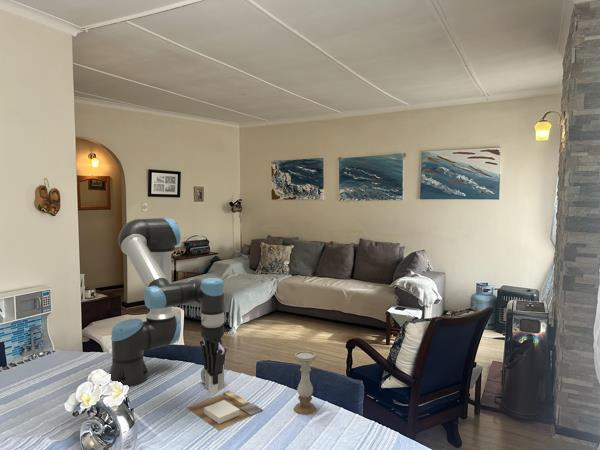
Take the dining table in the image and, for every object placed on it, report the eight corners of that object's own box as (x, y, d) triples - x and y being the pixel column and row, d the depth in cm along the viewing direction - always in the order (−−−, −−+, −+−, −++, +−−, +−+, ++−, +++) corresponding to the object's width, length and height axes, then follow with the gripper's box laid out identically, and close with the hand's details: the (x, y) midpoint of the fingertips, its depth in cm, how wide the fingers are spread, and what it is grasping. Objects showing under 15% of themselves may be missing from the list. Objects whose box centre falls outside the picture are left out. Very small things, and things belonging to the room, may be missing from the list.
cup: (217, 394, 159) (217, 371, 159) (195, 389, 164) (195, 366, 163) (228, 386, 166) (227, 364, 165) (206, 382, 170) (206, 360, 169)
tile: (204, 407, 143) (219, 417, 136) (224, 399, 148) (239, 409, 142) (204, 414, 143) (219, 424, 136) (224, 406, 148) (239, 415, 142)
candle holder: (320, 408, 149) (321, 351, 148) (313, 420, 141) (313, 361, 140) (297, 404, 152) (297, 348, 151) (288, 416, 144) (288, 357, 143)
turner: (220, 397, 154) (220, 393, 154) (231, 393, 158) (231, 389, 158) (250, 416, 142) (250, 411, 141) (262, 411, 145) (262, 406, 145)
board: (186, 410, 147) (186, 407, 147) (229, 394, 160) (229, 391, 160) (218, 434, 133) (218, 430, 133) (263, 413, 145) (263, 410, 145)
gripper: (192, 322, 146) (193, 389, 147) (213, 331, 136) (214, 402, 138) (211, 318, 151) (212, 382, 153) (233, 326, 142) (233, 395, 143)
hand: (213, 392), depth 145 cm, fingers closed
